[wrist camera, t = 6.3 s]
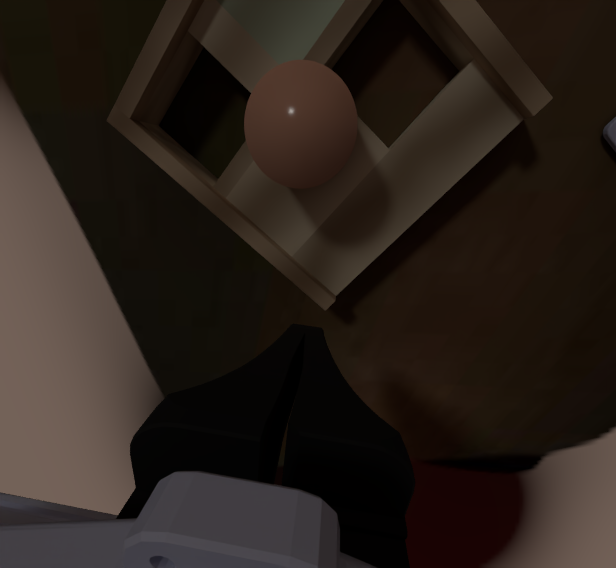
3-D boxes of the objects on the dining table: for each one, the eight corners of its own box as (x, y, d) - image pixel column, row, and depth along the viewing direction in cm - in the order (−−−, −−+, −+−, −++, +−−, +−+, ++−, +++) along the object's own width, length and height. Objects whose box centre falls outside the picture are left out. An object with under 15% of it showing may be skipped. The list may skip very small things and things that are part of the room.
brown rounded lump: (371, 146, 16) (380, 138, 13) (301, 202, 18) (291, 210, 14) (317, 63, 15) (310, 28, 11) (248, 130, 17) (221, 118, 13)
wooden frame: (520, 109, 17) (552, 98, 14) (327, 294, 22) (325, 310, 19) (296, -162, 14) (286, -239, 11) (138, 127, 19) (106, 120, 16)
